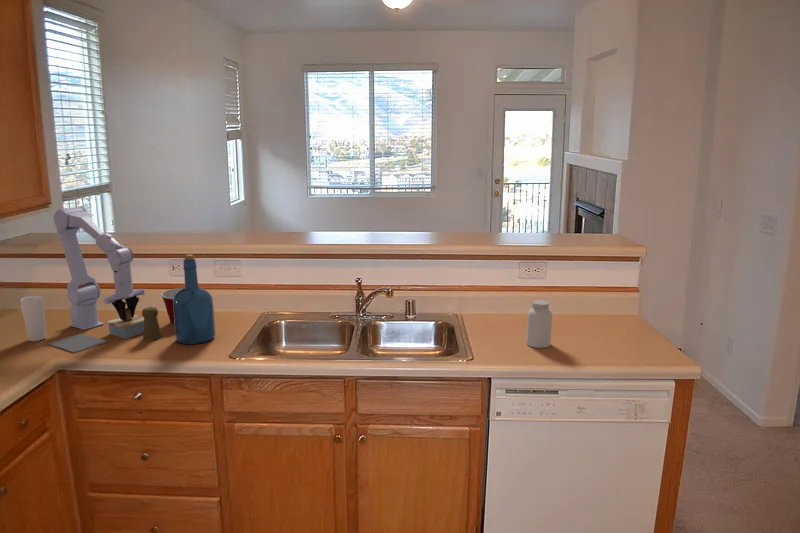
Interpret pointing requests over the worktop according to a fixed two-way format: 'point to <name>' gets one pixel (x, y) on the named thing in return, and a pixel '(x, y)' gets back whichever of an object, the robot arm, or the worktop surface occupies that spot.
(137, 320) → the lid
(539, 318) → the pill bottle
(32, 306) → the drinking glass
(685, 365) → the worktop surface
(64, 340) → the mat
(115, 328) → the dish
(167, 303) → the plastic cup
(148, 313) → the olive green shaker
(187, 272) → the wine bottle
